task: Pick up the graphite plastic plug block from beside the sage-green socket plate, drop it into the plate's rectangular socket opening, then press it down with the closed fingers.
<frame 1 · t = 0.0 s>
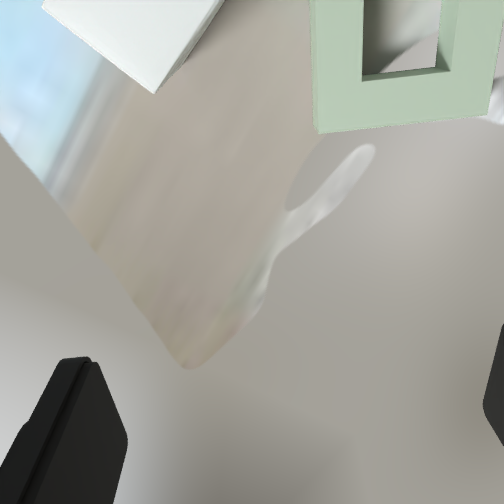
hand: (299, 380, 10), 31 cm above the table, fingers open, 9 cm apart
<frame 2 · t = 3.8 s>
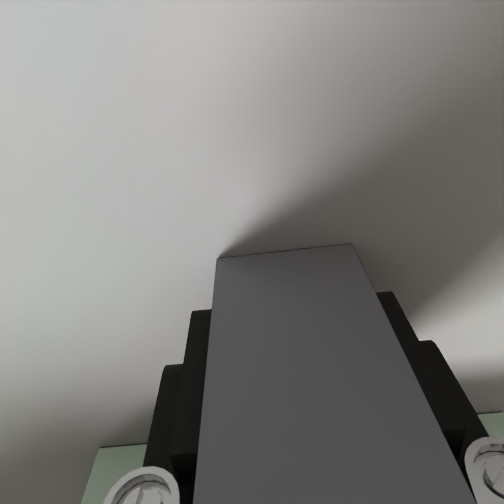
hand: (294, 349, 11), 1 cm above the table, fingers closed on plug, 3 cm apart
plug: (289, 319, 12), on the table, touching gripper
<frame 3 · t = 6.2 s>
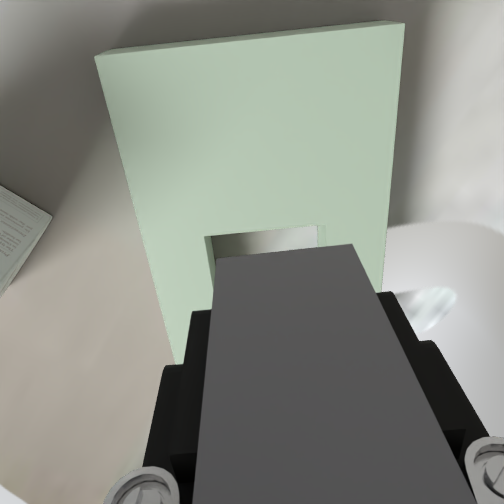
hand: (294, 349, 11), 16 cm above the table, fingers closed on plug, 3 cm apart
plug: (289, 319, 12), point 15 cm above the table, touching gripper
socket plate: (262, 211, 26), on the table
when the fingers open (3 cm above the table, at t = 8.6 s): plug drops 2 cm, resting in socket plate.
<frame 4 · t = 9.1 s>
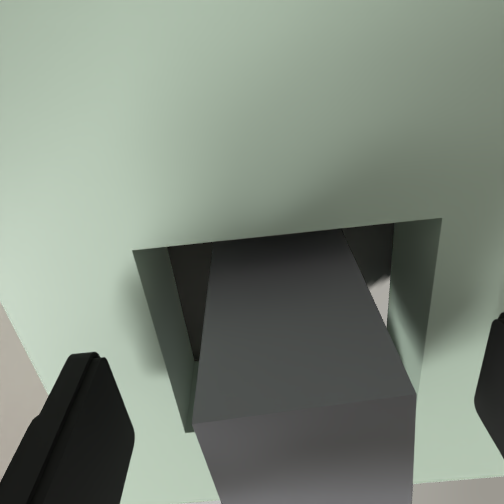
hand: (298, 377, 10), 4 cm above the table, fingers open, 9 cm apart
plug: (282, 277, 14), resting in socket plate
socket plate: (276, 193, 12), on the table
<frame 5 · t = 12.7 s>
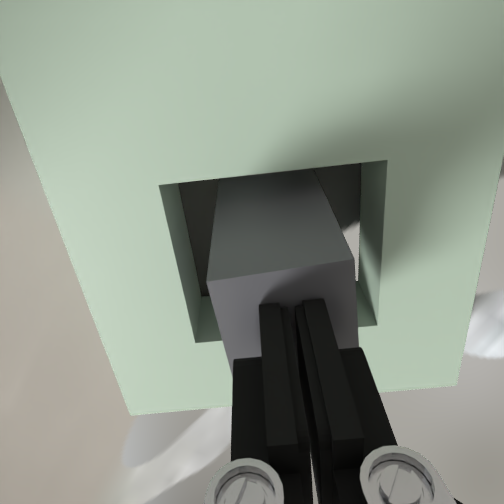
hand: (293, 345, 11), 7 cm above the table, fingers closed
plug: (272, 222, 17), resting in socket plate, touching gripper
socket plate: (267, 151, 15), on the table
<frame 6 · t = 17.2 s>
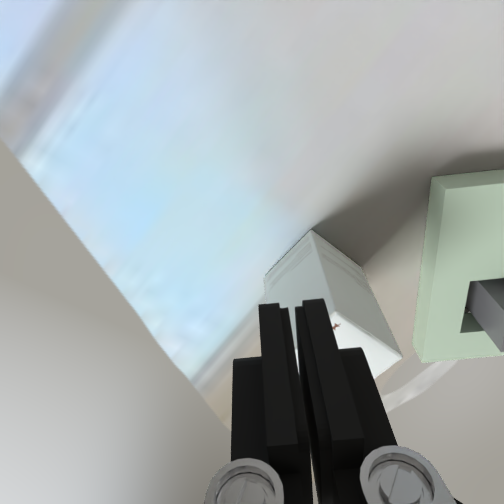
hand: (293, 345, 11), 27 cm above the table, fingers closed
plug: (484, 286, 44), resting in socket plate
socket plate: (490, 263, 42), on the table
supplement box: (311, 271, 42), on the table
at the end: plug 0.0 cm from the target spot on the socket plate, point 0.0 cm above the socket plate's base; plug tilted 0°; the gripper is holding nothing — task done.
